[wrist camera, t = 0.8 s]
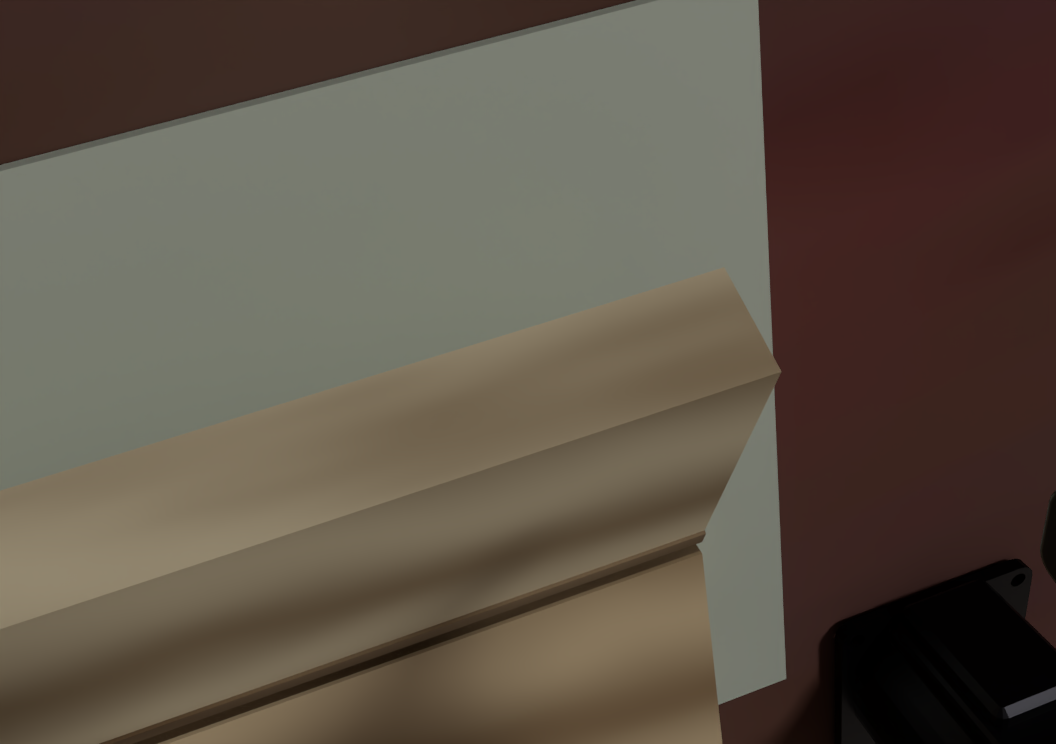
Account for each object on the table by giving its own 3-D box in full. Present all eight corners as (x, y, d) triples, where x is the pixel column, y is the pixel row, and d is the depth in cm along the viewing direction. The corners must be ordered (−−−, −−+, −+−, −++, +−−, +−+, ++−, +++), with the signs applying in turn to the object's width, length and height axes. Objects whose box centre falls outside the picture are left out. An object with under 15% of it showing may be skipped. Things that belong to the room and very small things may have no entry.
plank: (665, 460, 22) (701, 541, 21) (-455, 840, 18) (-470, 957, 17) (724, 267, 15) (783, 376, 14) (-1078, 822, 11) (-1162, 1018, 10)
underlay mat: (779, 668, 28) (786, 678, 28) (-280, 1071, 24) (-288, 1090, 23) (746, -29, 17) (756, -26, 17) (-1206, 477, 13) (-1243, 493, 13)
